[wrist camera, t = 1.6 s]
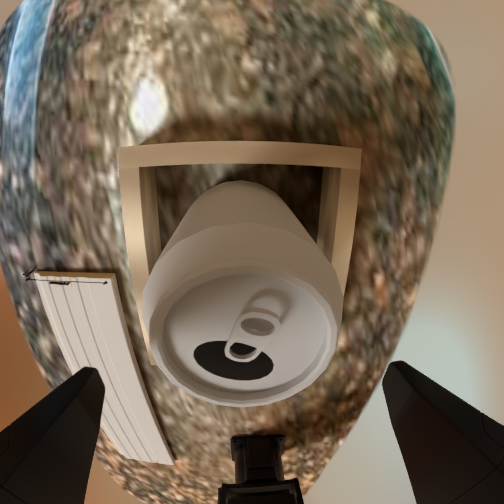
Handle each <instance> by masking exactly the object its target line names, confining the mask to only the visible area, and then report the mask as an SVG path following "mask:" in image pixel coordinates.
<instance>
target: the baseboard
mask: <svg viewBox="0 0 504 504" xmlns="http://www.w3.org/2000/svg"><path fill="white" fill-rule="evenodd" d="M28 271H29V270H28ZM28 271H27V272H28ZM27 272H26V273H27ZM32 272H33V270H32V271H30V272H29V273H28V274H27V275H26V273H25V274H23V275H26V276H25V277H27V276H28V275H30V274H31V273H32ZM34 275H35V279H36V282H37V285H38V289H39V292H40V295H41V298H42V301H43V304H44V307H45V310H46V313H47V316H48V318H49V321H50V324H51V326H52V329H53V331H54V334H55V336H56V339H57V341H58V344H59V346H60V348H61V351H62V353H63V355H64V357H65V360H66V362H67V364H68V366H69V368H70V370H71V372H72V374H73V375H74V374H75V373H76V372H78V371H79V370H80V369H81V368H83V367H85V366H88V367H94V368H96V369H97V370H98V371H99V374H100V376H101V378H102V380H103V383H104V385H105V397H104V403H103V409H102V416H101V423H100V425H101V426H102V428H103V429H104V431H105V433H106V434H107V436H108V437H109V439H110V440H111V442H112V443H113V444H114V446H115V447H116V449H117V450H118V452H119V453H120V454H123V455H124V456H125V457H126V458H128V459H136V460H139V461H148V462H156V463H161V464H169V465H174V463H175V460H174V458H173V455H172V453H171V451H170V449H169V447H168V444H167V442H166V440H165V437H164V435H163V433H162V430H161V428H160V425H159V423H158V420H157V418H156V415H155V412H154V410H153V407H152V404H151V402H150V399H149V396H148V393H147V391H146V388H145V385H144V382H143V379H142V376H141V373H140V370H139V366H138V363H137V360H136V357H135V353H134V350H133V346H132V343H131V339H130V336H129V332H128V328H127V324H126V320H125V316H124V312H123V308H122V304H121V299H120V295H119V290H118V285H117V280H116V275H115V273H82V272H47V271H35V272H34ZM35 279H30V278H28V279H26V281H27V280H35Z"/></svg>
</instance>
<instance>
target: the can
mask: <svg viewBox="0 0 504 504" xmlns="http://www.w3.org/2000/svg"><path fill="white" fill-rule="evenodd" d="M343 298H344V297H343V293H342V290H341V287H340V284H339V280H338V277H337V274H336V271H335V269H334V268H333V267H332V265H331V264H330V262H329V261H328V260H327V258H326V257H325V255H324V254H323V253H322V251H321V250H320V248H319V247H318V246H317V244H316V243H315V242H314V240H313V239H312V238H311V236H310V235H309V234H308V232H307V231H306V229H305V228H304V227H303V225H302V224H301V223H300V221H299V220H298V219H297V217H296V216H295V215H294V214H293V212H292V211H291V210H290V208H289V207H288V206H287V205H286V203H285V202H284V201H283V200H282V199H281V198H280V197H279V195H278V194H277V193H275V192H274V191H272V190H270V189H268V188H267V187H265V186H263V185H262V184H258V183H254V182H249V181H244V180H239V181H230V182H223V183H221V184H218V185H216V186H214V187H212V188H210V189H208V190H206V191H205V192H204V193H203V194H202V195H201V196H199V197H198V198H197V199H196V200H195V201H194V202H193V203H192V205H191V206H190V208H189V210H188V211H187V213H186V214H185V216H184V217H183V219H182V221H181V222H180V224H179V225H178V227H177V228H176V230H175V232H174V233H173V235H172V237H171V238H170V240H169V241H168V243H167V245H166V246H165V248H164V250H163V251H162V253H161V255H160V256H159V258H158V260H157V262H156V263H155V265H154V267H153V269H152V272H151V274H150V276H149V278H148V281H147V283H146V285H145V287H144V290H143V300H142V319H143V322H144V325H145V328H146V331H147V334H148V336H149V345H150V348H151V351H152V353H153V356H154V358H155V361H156V363H157V365H158V367H159V368H160V369H161V370H162V371H163V373H164V374H165V375H166V376H167V377H168V378H169V379H170V381H171V382H172V383H174V384H175V385H177V386H178V387H180V388H181V389H183V390H184V391H186V392H187V393H189V394H190V395H192V396H194V397H196V398H199V399H202V400H205V401H208V402H211V403H214V404H217V405H225V406H234V407H250V406H260V405H267V404H270V403H273V402H277V401H280V400H283V399H286V398H289V397H291V396H292V395H294V394H296V393H297V392H299V391H301V390H302V389H304V388H306V387H307V386H309V385H311V384H312V383H313V382H314V381H315V380H316V379H317V378H318V376H319V375H320V374H321V373H322V372H323V371H324V370H325V369H326V368H327V367H328V365H329V363H330V361H331V359H332V357H333V355H334V353H335V351H336V349H337V345H338V335H339V327H340V325H341V323H342V311H343Z"/></svg>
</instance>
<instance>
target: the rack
mask: <svg viewBox="0 0 504 504" xmlns="http://www.w3.org/2000/svg"><path fill="white" fill-rule="evenodd" d="M361 154H362V149H360V148H352V147H343V146H333V145H322V144H309V143H293V142H271V141H199V142H177V143H161V144H149V145H138V146H128V147H119V148H118V155H119V175H120V190H121V202H122V212H123V221H124V230H125V238H126V245H127V252H128V259H129V265H130V272H131V277H132V283H133V289H134V294H135V299H136V304H137V309H138V314H139V318H140V323H141V327H142V332H143V336H144V340H145V344H146V348H147V352H148V356H149V359H150V363H151V365H157V363H156V361H155V358H154V356H153V353H152V351H151V348H150V345H149V336H148V334H147V331H146V328H145V325H144V322H143V319H142V300H143V290H144V287H145V285H146V283H147V281H148V278H149V276H150V274H151V272H152V269H153V267H154V265H155V263H156V262H157V260H158V258H159V256H160V255H161V253H162V250H161V240H160V229H159V216H158V202H157V184H156V166H164V165H185V164H228V163H244V164H287V165H308V166H323V170H322V186H321V200H320V213H319V224H318V235H317V246H318V247H319V248H320V250H321V251H322V253H323V254H324V255H325V257H326V258H327V260H328V261H329V262H330V264H331V265H332V267H333V268H334V269H335V271H336V274H337V277H338V280H339V284H340V287H341V290H342V293H343V297H344V292H345V287H346V281H347V275H348V269H349V263H350V256H351V250H352V243H353V236H354V228H355V220H356V211H357V202H358V192H359V181H360V169H361Z"/></svg>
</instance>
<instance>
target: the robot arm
mask: <svg viewBox="0 0 504 504" xmlns="http://www.w3.org/2000/svg"><path fill="white" fill-rule="evenodd" d="M382 386H383V391H384V394H385V398H386V403H387V407H388V411H389V415H390V419H391V423H392V427H393V430H394V432H395V436H396V438H397V441H398V444H399V447H400V450H401V453H402V456H403V459H404V463H405V466H406V469H407V472H408V475H409V479H410V482H411V485H412V489H413V492H414V496H415V499H416V503H417V504H504V426H503V425H501V424H500V423H498V422H496V421H495V420H493V419H491V418H490V417H488V416H487V415H485V414H484V413H481V412H480V411H479V410H477V409H476V408H474V407H473V406H471V405H469V404H468V403H467V402H465V401H463V400H462V399H460V398H459V397H457V396H456V395H454V394H453V393H451V392H450V391H448V390H447V389H445V388H443V387H442V386H440V385H439V384H437V383H436V382H434V381H433V380H431V379H430V378H428V377H427V376H425V375H424V374H422V373H421V372H419V371H418V370H416V369H415V368H413V367H412V366H410V365H408V364H407V363H406V362H404V361H395V362H391V363H390V364H389V366H388V368H387V371H386V373H385V375H384V378H383V381H382ZM104 397H105V385H104V383H103V380H102V378H101V376H100V374H99V371H98V370H97V369H96V368H94V367H88V366H85V367H83V368H81V369H80V370H79V371H78V372H76V373H75V374H74V375H72V376H71V377H70V378H68V379H67V380H66V381H65V382H63V383H62V384H61V385H59V386H58V387H57V388H56V389H54V390H53V391H52V392H50V393H49V394H48V395H47V396H46V397H44V398H43V399H42V400H40V401H39V402H38V403H36V404H35V405H34V406H33V407H31V408H30V409H29V410H28V411H26V412H25V413H24V414H23V415H21V416H20V417H19V418H17V419H16V420H15V421H14V422H12V423H11V424H10V425H9V426H7V427H6V428H5V429H4V430H2V431H1V432H0V504H84V500H85V494H86V489H87V483H88V478H89V473H90V469H91V464H92V460H93V455H94V451H95V447H96V443H97V439H98V434H99V429H100V423H101V416H102V409H103V403H104ZM284 442H285V436H284V435H275V436H257V437H232V438H231V453H232V460H233V461H235V483H236V484H227V483H222V487H221V488H218V504H304V502H303V498H302V494H301V489H300V485H299V481H298V478H293V479H290V480H284V473H283V466H282V459H281V456H282V451H283V447H284Z"/></svg>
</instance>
